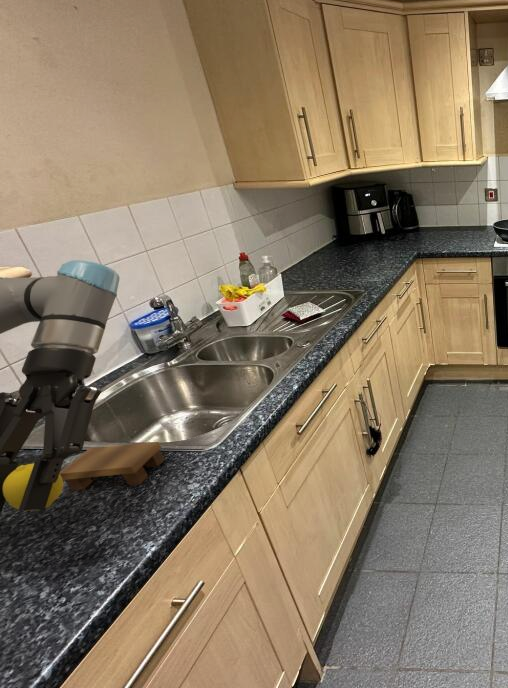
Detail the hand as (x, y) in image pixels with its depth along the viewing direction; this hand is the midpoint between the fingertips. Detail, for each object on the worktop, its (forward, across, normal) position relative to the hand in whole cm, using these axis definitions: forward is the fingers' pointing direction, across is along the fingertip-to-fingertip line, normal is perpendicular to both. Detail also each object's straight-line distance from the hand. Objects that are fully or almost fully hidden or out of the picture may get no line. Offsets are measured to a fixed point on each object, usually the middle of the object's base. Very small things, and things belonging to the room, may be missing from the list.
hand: (9, 511), depth 57 cm
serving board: (-5, +10, -26) cm, 28 cm away
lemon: (0, 0, -5) cm, 5 cm away
